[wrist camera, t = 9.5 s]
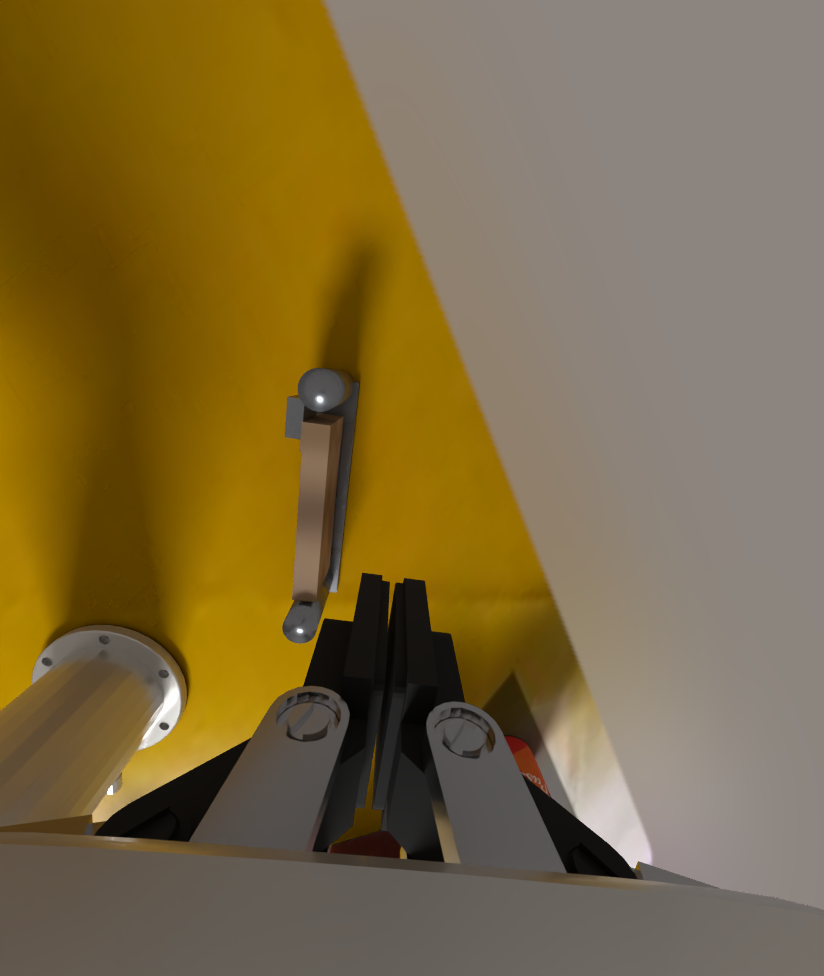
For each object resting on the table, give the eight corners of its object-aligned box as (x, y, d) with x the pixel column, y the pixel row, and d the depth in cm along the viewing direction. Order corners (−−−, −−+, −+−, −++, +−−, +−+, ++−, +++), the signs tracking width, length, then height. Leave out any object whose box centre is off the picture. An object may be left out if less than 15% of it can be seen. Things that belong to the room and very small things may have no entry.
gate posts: (337, 589, 35) (320, 645, 28) (295, 584, 35) (267, 640, 28) (360, 372, 31) (347, 372, 23) (312, 365, 30) (285, 362, 23)
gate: (330, 566, 34) (316, 604, 28) (309, 563, 33) (290, 601, 28) (343, 416, 30) (330, 425, 25) (320, 413, 30) (301, 421, 25)
